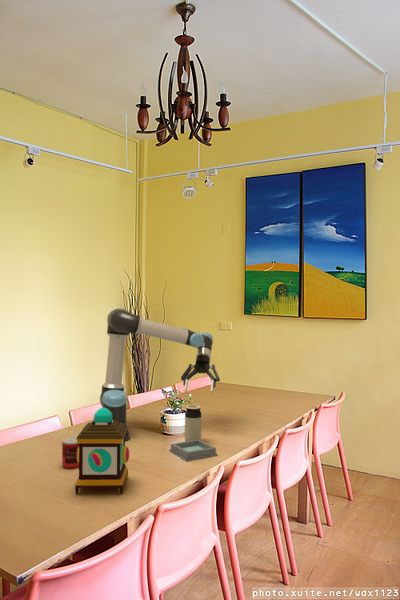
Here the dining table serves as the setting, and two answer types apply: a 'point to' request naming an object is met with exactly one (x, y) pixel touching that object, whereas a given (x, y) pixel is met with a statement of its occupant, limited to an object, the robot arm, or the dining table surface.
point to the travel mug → (192, 423)
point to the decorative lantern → (102, 453)
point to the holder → (193, 450)
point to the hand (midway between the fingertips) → (198, 391)
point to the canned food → (69, 453)
